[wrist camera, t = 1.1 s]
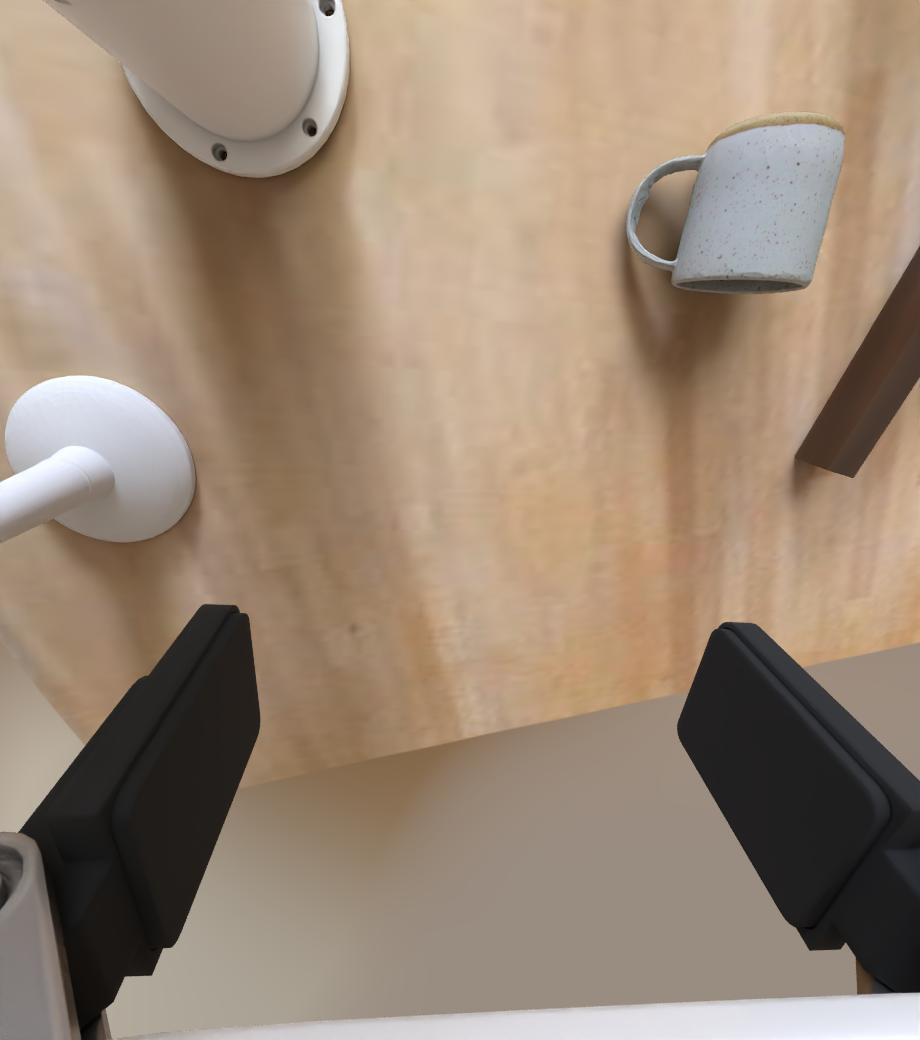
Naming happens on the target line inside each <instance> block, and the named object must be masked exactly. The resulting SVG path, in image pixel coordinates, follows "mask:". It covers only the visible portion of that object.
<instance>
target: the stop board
mask: <svg viewBox="0 0 920 1040" xmlns="http://www.w3.org/2000/svg"><path fill="white" fill-rule="evenodd" d="M919 378H920V248H919V249H918V251H917V253H916V254H915V256H914V258H913V259H912V261H911V263H910V264H909V266H908V268H907V269H906V271H905V273H904V274H903V276H902V278H901V279H900V281H899V283H898V284H897V286H896V288H895V289H894V291H893V293H892V295H891V296H890V298H889V300H888V301H887V303H886V305H885V306H884V308H883V310H882V311H881V313H880V315H879V316H878V318H877V320H876V321H875V323H874V325H873V326H872V328H871V330H870V331H869V333H868V335H867V336H866V338H865V340H864V341H863V343H862V345H861V346H860V348H859V350H858V352H857V353H856V355H855V357H854V358H853V360H852V362H851V363H850V365H849V367H848V368H847V370H846V372H845V373H844V375H843V377H842V378H841V380H840V382H839V383H838V385H837V387H836V388H835V390H834V392H833V393H832V395H831V397H830V398H829V400H828V402H827V403H826V405H825V407H824V409H823V410H822V412H821V414H820V415H819V417H818V419H817V420H816V422H815V424H814V425H813V427H812V429H811V430H810V432H809V434H808V435H807V437H806V439H805V440H804V442H803V444H802V445H801V447H800V449H799V450H798V452H797V454H796V455H795V457H796V458H798V459H801V460H803V461H806V462H808V463H811V464H813V465H816V466H818V467H821V468H823V469H826V470H829V471H832V472H835V473H838V474H841V475H845V476H848V477H851V478H854V476H855V475H856V473H857V472H858V470H859V469H860V467H861V466H862V464H863V463H864V461H865V460H866V458H867V457H868V455H869V454H870V452H871V451H872V449H873V448H874V446H875V444H876V443H877V441H878V440H879V438H880V437H881V435H882V434H883V432H884V431H885V429H886V428H887V426H888V425H889V423H890V422H891V420H892V419H893V417H894V416H895V414H896V413H897V411H898V410H899V408H900V407H901V405H902V403H903V402H904V400H905V399H906V397H907V396H908V394H909V393H910V391H911V390H912V388H913V387H914V385H915V384H916V382H917V381H918V379H919Z"/></svg>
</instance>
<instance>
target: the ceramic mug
mask: <svg viewBox="0 0 920 1040" xmlns="http://www.w3.org/2000/svg"><path fill="white" fill-rule="evenodd" d="M844 139H845V132H844V129H843V127H842V126H841V125H840V124H839V123H838V122H837V121H836V120H835V119H834V118H832V117H830V116H827V115H824V114H820V113H813V112H787V113H776V114H771V115H765V116H759V117H755V118H752V119H748V120H745V121H742V122H740V123H737V124H735V125H733V126H731V127H729V128H728V129H726V130H725V131H724V132H722V133H721V134H720V135H719V136H718V137H716V138H715V139H714V140H713V142H712V143H711V144H710V146H709V147H708V149H707V151H706V153H705V154H704V155H702V156H697V155H693V156H683V157H679V158H674V159H672V160H670V161H667V162H665V163H663V164H661V165H659V166H658V167H656V168H655V169H654V170H653V171H652V172H651V173H650V174H648V175H647V176H646V177H645V178H644V180H643V181H642V182H641V183H640V185H639V186H638V187H637V189H636V191H635V193H634V195H633V198H632V200H631V203H630V205H629V209H628V213H627V218H626V233H627V238H628V242H629V245H630V247H631V249H632V250H633V252H634V253H635V254H636V255H637V256H638V257H639V258H640V259H641V260H642V261H644V262H645V263H647V264H649V265H651V266H654V267H656V268H659V269H662V270H667V271H671V272H672V278H671V284H672V285H673V286H675V287H677V288H680V289H684V290H694V291H699V292H712V293H735V294H763V293H777V292H780V293H781V292H789V291H796V290H800V289H805V288H806V287H807V286H808V285H809V284H810V282H811V281H812V278H813V274H814V269H815V265H816V261H817V257H818V253H819V250H820V246H821V242H822V239H823V235H824V231H825V227H826V223H827V219H828V215H829V210H830V206H831V202H832V199H833V195H834V191H835V189H836V186H837V182H838V178H839V174H840V171H841V166H842V162H843V152H844ZM684 170H697V171H698V176H697V179H696V183H695V185H694V190H693V194H692V198H691V201H690V204H689V205H690V208H689V213H688V216H687V220H686V223H685V226H684V230H683V233H682V236H681V242H680V245H679V248H678V253H677V257H676V260H674V261H666V260H663V259H661V258H658V257H656V256H655V255H653V254H651V253H649V252H647V251H646V250H645V249H644V248H643V246H642V245H641V243H640V242H639V239H638V238H637V237H636V235H635V231H636V228H637V224H638V220H639V216H640V213H641V210H642V208H643V205H644V203H645V202H646V200H647V199H648V198H649V190H650V188H651V187H652V185H653V184H654V183H655V182H656V181H658V180H659V179H661V178H662V177H663V176H666V175H668V174H672V173H674V172H679V171H684Z"/></svg>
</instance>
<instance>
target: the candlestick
mask: <svg viewBox="0 0 920 1040" xmlns="http://www.w3.org/2000/svg"><path fill="white" fill-rule="evenodd" d="M5 445H6V452H7V456H8V460H9V463H10V465H11V468H12V470H13V472H14V476H12V477H10V478H8V479H6V480H4V481H2V482H0V543H2V542H4V541H6V540H9V539H11V538H13V537H15V536H17V535H19V534H21V533H23V532H26V531H28V530H30V529H32V528H34V527H36V526H38V525H40V524H42V523H45V522H47V521H49V520H51V519H54V520H56V521H58V522H59V523H61V524H62V525H64V526H66V527H68V528H70V529H71V530H74V531H76V532H78V533H80V534H83V535H86V536H89V537H92V538H95V539H99V540H104V541H111V542H135V541H141V540H145V539H149V538H152V537H155V536H157V535H159V534H161V533H163V532H165V531H166V530H168V529H169V528H171V527H172V526H173V525H174V524H175V523H177V522H178V521H179V520H180V519H181V518H182V516H183V515H184V514H185V512H186V511H187V509H188V508H189V506H190V504H191V501H192V498H193V495H194V490H195V480H196V477H195V467H194V462H193V458H192V455H191V452H190V450H189V447H188V445H187V443H186V441H185V439H184V437H183V435H182V434H181V432H180V431H179V429H178V428H177V427H176V425H175V424H174V423H173V421H172V420H171V419H170V418H169V417H168V416H167V415H166V414H165V413H164V412H163V411H162V410H161V409H160V408H159V407H158V406H157V405H155V404H154V403H153V402H152V401H150V400H149V399H148V398H146V397H145V396H143V395H142V394H140V393H138V392H137V391H135V390H133V389H131V388H129V387H127V386H124V385H122V384H120V383H117V382H114V381H111V380H108V379H104V378H99V377H93V376H66V377H60V378H55V379H51V380H48V381H45V382H42V383H40V384H38V385H36V386H34V387H33V388H31V389H30V390H28V391H27V392H26V393H25V394H23V395H22V396H21V397H20V398H19V400H18V401H17V402H16V404H15V405H14V406H13V408H12V410H11V412H10V414H9V417H8V420H7V424H6V430H5Z"/></svg>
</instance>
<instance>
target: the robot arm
mask: <svg viewBox="0 0 920 1040" xmlns="http://www.w3.org/2000/svg"><path fill="white" fill-rule="evenodd" d="M43 1H45V2H46V3H47V4H48V5H50V6H51V7H52V8H53V9H55V10H56V11H57V12H58V13H60V14H61V15H62V16H63V17H64V18H66V19H67V20H68V21H69V22H71V23H72V24H73V25H74V26H76V27H77V28H78V29H79V30H81V31H82V32H83V33H84V34H86V35H87V36H88V37H89V38H91V39H92V40H93V41H94V42H95V43H97V44H98V45H99V46H100V47H102V48H103V49H104V50H105V51H107V52H108V53H109V54H110V55H112V56H113V57H114V58H115V59H117V60H118V61H119V62H120V64H121V66H122V68H123V71H124V73H125V75H126V77H127V79H128V82H129V84H130V86H131V88H132V89H133V91H134V92H135V94H136V96H137V97H138V99H139V100H140V102H141V104H142V105H143V107H144V109H145V110H146V111H147V112H148V114H149V115H150V116H151V117H152V119H153V120H154V121H155V122H156V123H157V125H158V126H159V127H160V128H161V129H162V131H163V132H165V133H166V134H167V135H168V136H169V137H170V138H171V139H172V140H173V141H175V142H176V143H177V144H178V145H179V146H180V147H181V148H182V149H184V150H185V151H187V152H188V153H190V154H191V155H193V156H194V157H196V158H197V159H199V160H200V161H202V162H204V163H206V164H208V165H210V166H212V167H214V168H216V169H218V170H220V171H223V172H227V173H230V174H233V175H237V176H242V177H254V178H263V177H270V176H277V175H281V174H283V173H286V172H288V171H290V170H293V169H295V168H297V167H299V166H300V165H302V164H303V163H304V162H306V161H307V160H309V159H310V158H311V157H313V156H314V155H315V154H316V152H317V151H318V150H319V149H320V148H321V147H322V146H323V145H324V143H325V142H326V141H327V140H328V138H329V136H330V134H331V132H332V131H333V129H334V127H335V125H336V124H337V122H338V119H339V116H340V113H341V111H342V108H343V105H344V102H345V99H346V93H347V86H348V80H349V74H350V45H349V37H348V30H347V23H346V17H345V13H344V9H343V5H342V1H341V0H43ZM329 9H330V10H333V11H334V14H333V15H331V16H326V12H327V11H328V10H329ZM311 128H315V129H316V135H314V136H310V135H309V130H310V129H311ZM223 152H227V158H226V159H225V160H222V157H221V155H222V153H223ZM259 729H260V709H259V700H258V692H257V683H256V674H255V666H254V657H253V648H252V639H251V631H250V622H249V617H248V615H247V614H246V613H240V612H239V609H238V607H237V606H235V605H214V604H205V605H202V606H201V607H200V608H199V609H198V610H197V612H196V613H195V614H194V616H193V617H192V618H191V620H190V621H189V622H188V624H187V625H186V626H185V628H184V629H183V630H182V632H181V633H180V634H179V636H178V637H177V638H176V640H175V641H174V642H173V644H172V645H171V646H170V648H169V649H168V650H167V652H166V653H165V654H164V656H163V657H162V658H161V660H160V661H159V662H158V664H157V665H156V666H155V668H154V669H153V670H152V672H151V673H150V674H149V676H144V677H142V678H140V679H138V680H137V681H136V682H135V683H134V684H133V685H132V686H131V688H130V689H129V690H128V692H127V693H126V694H125V695H124V697H123V698H122V699H121V701H120V702H119V703H118V704H117V706H116V707H115V708H114V710H113V711H112V712H111V713H110V715H109V716H108V717H107V719H106V720H105V721H104V723H103V724H102V725H101V726H100V728H99V729H98V730H97V732H96V733H95V734H94V735H93V737H92V738H91V739H90V741H89V742H88V743H87V744H86V746H85V747H84V748H83V750H82V751H81V752H80V753H79V755H78V756H77V757H76V759H75V760H74V761H73V763H72V764H71V765H70V766H69V768H68V769H67V770H66V772H65V773H64V774H63V775H62V777H61V778H60V779H59V781H58V782H57V783H56V784H55V786H54V787H53V789H52V790H51V791H50V792H49V794H48V795H47V796H46V798H45V799H44V800H43V801H42V803H41V804H40V805H39V806H38V808H37V809H36V810H35V812H34V813H33V814H32V815H31V817H30V818H29V819H28V821H27V822H26V823H25V824H24V826H23V827H22V829H21V830H20V831H19V832H18V833H14V832H0V1040H920V781H919V780H918V779H917V778H916V777H915V776H914V775H913V774H912V773H911V772H910V771H909V770H908V769H907V768H906V767H905V766H904V765H903V764H902V763H901V762H900V761H898V760H897V759H896V758H895V757H894V756H893V755H892V754H891V753H890V752H889V751H888V750H887V749H886V748H885V747H884V746H883V745H882V744H881V743H880V742H879V741H877V739H876V738H875V737H873V736H872V735H871V734H870V733H869V732H868V731H867V730H866V729H865V728H864V727H863V726H862V725H861V724H860V723H859V722H858V721H857V720H856V719H855V718H854V717H853V716H852V715H850V713H849V712H847V711H846V710H845V709H844V708H843V707H842V706H841V705H840V704H839V703H838V702H837V701H836V700H835V699H834V698H833V697H832V696H831V695H830V694H829V693H828V692H827V691H826V690H825V689H824V688H822V687H821V686H820V685H819V684H818V683H817V682H816V681H815V680H814V679H813V678H812V677H811V676H810V675H809V674H808V673H807V672H806V671H805V670H804V669H803V668H802V667H801V666H800V665H799V664H798V663H796V662H795V661H794V660H793V659H792V658H791V657H790V656H789V655H788V654H787V653H786V652H785V651H784V650H783V649H782V648H781V647H780V646H779V645H778V644H777V643H776V642H775V641H774V640H773V639H771V638H770V637H769V636H768V635H767V634H766V633H765V632H764V631H763V630H762V629H761V628H760V627H759V626H757V625H756V624H753V623H737V622H725V623H722V624H721V625H720V626H719V628H718V629H715V630H714V631H713V632H712V634H711V636H710V638H709V641H708V644H707V646H706V649H705V652H704V654H703V657H702V660H701V662H700V665H699V667H698V670H697V673H696V675H695V678H694V681H693V683H692V686H691V689H690V691H689V694H688V697H687V699H686V702H685V705H684V707H683V710H682V713H681V715H680V718H679V721H678V725H677V730H678V736H679V739H680V741H681V743H682V745H683V747H684V748H685V750H686V752H687V753H688V755H689V757H690V759H691V760H692V762H693V764H694V765H695V767H696V769H697V771H698V772H699V774H700V775H701V777H702V779H703V781H704V782H705V784H706V786H707V788H708V789H709V791H710V793H711V794H712V796H713V798H714V799H715V801H716V803H717V805H718V806H719V808H720V810H721V811H722V813H723V815H724V817H725V818H726V820H727V822H728V823H729V825H730V827H731V829H732V830H733V832H734V834H735V836H736V837H737V839H738V840H739V842H740V844H741V846H742V847H743V849H744V851H745V853H746V854H747V856H748V858H749V859H750V861H751V863H752V865H753V866H754V868H755V869H756V871H757V873H758V875H759V877H760V878H761V880H762V882H763V883H764V885H765V887H766V888H767V890H768V892H769V894H770V895H771V897H772V898H773V900H774V902H775V904H776V906H777V907H778V909H779V911H780V912H781V914H782V915H783V917H784V918H785V920H786V921H787V922H788V923H789V924H791V925H792V926H794V927H796V928H797V930H798V932H799V933H800V935H801V937H802V938H803V940H804V942H805V944H806V945H807V947H808V949H809V950H810V951H812V950H838V949H841V948H842V947H843V945H844V944H845V943H847V945H848V946H849V948H850V949H851V950H852V952H853V954H854V955H855V957H856V975H857V995H844V996H843V995H841V996H820V997H819V996H817V997H793V998H769V999H746V1000H724V1001H723V1000H722V1001H701V1002H680V1003H659V1004H637V1005H616V1006H596V1007H575V1008H555V1009H535V1010H514V1011H494V1012H477V1013H460V1014H441V1015H440V1014H439V1015H422V1016H421V1015H420V1016H402V1017H384V1018H365V1019H346V1020H328V1021H309V1022H295V1023H281V1024H267V1025H254V1026H241V1027H228V1028H215V1029H203V1030H188V1031H175V1032H162V1033H155V1034H147V1035H140V1036H133V1037H125V1038H117V1039H112V1038H111V1033H110V1029H109V1024H108V1019H107V1014H106V1010H105V1009H106V1008H107V1007H108V1006H109V1005H110V1004H112V1003H113V1002H114V999H115V997H116V995H117V993H118V991H119V988H120V986H121V984H122V982H123V979H124V977H126V976H151V975H152V974H153V972H154V969H155V967H156V964H157V962H158V959H159V957H160V954H161V952H162V949H163V948H171V947H173V945H174V944H175V943H176V941H177V940H178V938H179V936H180V933H181V931H182V929H183V926H184V924H185V921H186V919H187V916H188V914H189V911H190V908H191V906H192V903H193V901H194V898H195V895H196V893H197V890H198V888H199V885H200V883H201V880H202V878H203V875H204V873H205V870H206V868H207V865H208V862H209V860H210V857H211V855H212V852H213V850H214V847H215V845H216V842H217V840H218V837H219V834H220V832H221V829H222V827H223V824H224V822H225V819H226V816H227V814H228V811H229V808H230V806H231V804H232V801H233V799H234V796H235V793H236V791H237V788H238V786H239V783H240V781H241V778H242V776H243V773H244V770H245V768H246V765H247V763H248V760H249V758H250V755H251V753H252V750H253V747H254V745H255V742H256V740H257V737H258V733H259Z"/></svg>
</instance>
